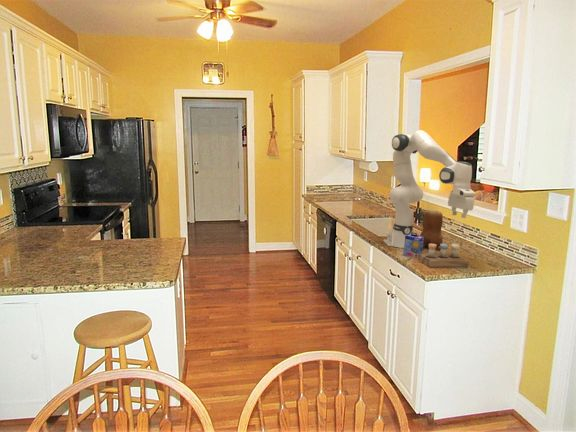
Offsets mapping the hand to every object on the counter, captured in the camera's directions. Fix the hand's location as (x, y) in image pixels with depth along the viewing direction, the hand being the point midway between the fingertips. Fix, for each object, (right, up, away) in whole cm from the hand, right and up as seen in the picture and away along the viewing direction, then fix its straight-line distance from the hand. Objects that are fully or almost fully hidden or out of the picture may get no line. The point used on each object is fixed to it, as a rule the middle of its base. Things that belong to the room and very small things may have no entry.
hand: (458, 216), depth 239 cm
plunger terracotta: (-15, -22, +1) cm, 27 cm away
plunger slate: (-8, -22, +2) cm, 24 cm away
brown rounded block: (-3, -21, +40) cm, 45 cm away
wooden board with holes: (-8, -27, +3) cm, 28 cm away
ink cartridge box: (-21, -24, +17) cm, 36 cm away
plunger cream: (-1, -22, +4) cm, 23 cm away
